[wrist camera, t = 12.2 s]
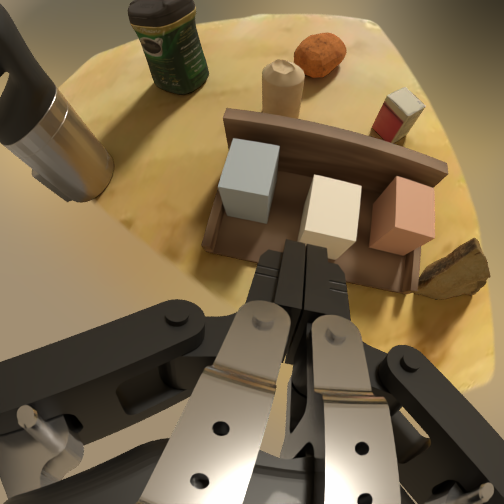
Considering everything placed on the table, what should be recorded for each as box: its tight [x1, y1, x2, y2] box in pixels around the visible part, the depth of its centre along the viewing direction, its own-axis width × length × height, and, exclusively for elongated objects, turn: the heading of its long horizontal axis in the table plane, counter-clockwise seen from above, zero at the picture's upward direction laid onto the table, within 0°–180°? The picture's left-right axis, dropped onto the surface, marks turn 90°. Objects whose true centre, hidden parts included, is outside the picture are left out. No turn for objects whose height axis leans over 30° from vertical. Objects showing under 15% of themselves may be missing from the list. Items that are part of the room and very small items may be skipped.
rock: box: [414, 238, 490, 300], centre depth 30 cm, size 11×9×10 cm
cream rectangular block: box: [297, 174, 362, 260], centre depth 31 cm, size 6×5×8 cm
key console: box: [202, 108, 448, 294], centre depth 31 cm, size 14×26×10 cm, turn 77°
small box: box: [372, 87, 426, 143], centre depth 36 cm, size 5×4×8 cm
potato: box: [294, 33, 346, 78], centre depth 40 cm, size 7×13×7 cm, turn 141°
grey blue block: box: [218, 138, 280, 224], centre depth 32 cm, size 6×5×8 cm
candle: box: [262, 59, 305, 119], centre depth 36 cm, size 6×6×10 cm
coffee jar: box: [128, 0, 209, 95], centre depth 34 cm, size 10×8×19 cm
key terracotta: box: [369, 176, 435, 256], centre depth 31 cm, size 6×5×8 cm
